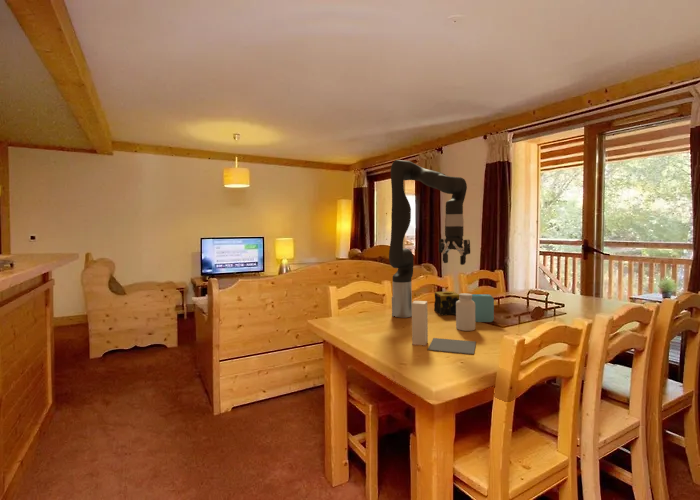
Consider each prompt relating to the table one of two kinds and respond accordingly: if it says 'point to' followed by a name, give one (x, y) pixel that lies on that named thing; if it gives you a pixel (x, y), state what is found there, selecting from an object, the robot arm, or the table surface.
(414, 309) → the cream pillar
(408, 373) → the table surface
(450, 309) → the black and yellow cube
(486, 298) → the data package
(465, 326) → the pill bottle
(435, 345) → the mat
